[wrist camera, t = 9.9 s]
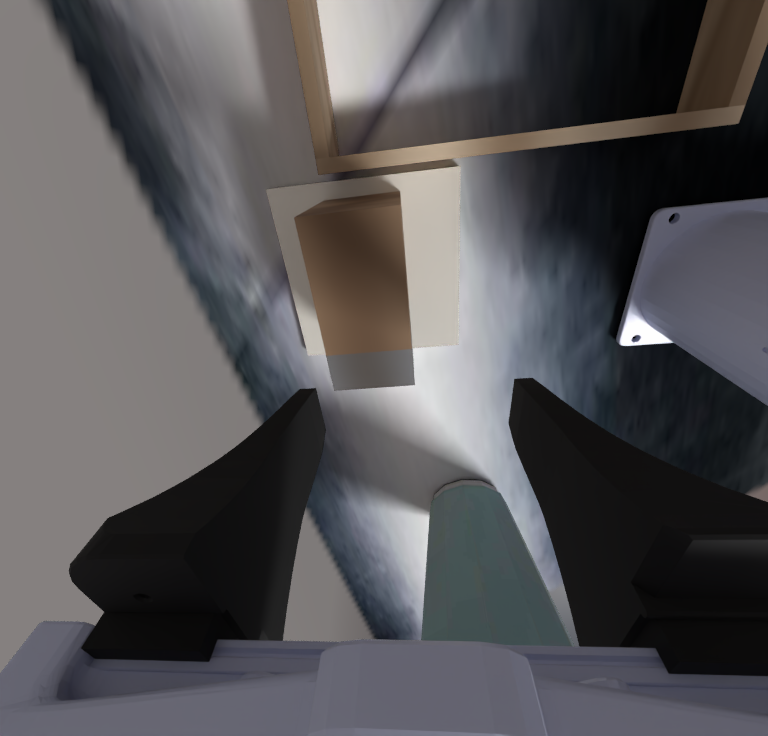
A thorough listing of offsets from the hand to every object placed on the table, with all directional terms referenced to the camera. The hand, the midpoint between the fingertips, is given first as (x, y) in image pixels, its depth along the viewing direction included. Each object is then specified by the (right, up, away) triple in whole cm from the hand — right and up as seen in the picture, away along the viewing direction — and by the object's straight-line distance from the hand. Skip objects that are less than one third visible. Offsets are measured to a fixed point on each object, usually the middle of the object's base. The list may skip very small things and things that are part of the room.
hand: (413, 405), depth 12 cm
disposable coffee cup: (+7, -11, +19) cm, 23 cm away
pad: (-2, +7, +8) cm, 11 cm away
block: (-2, +7, +7) cm, 10 cm away
